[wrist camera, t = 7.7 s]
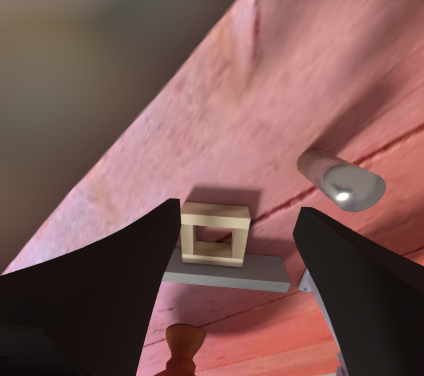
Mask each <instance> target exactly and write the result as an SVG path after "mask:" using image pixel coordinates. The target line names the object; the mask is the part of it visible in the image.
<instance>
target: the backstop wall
mask: <svg viewBox="0 0 424 376" xmlns="http://www.w3.org/2000/svg"><path fill="white" fill-rule="evenodd" d="M162 281H165V282H175V283H186V284H197V285H208V286H218V287H229V288H240V289H251V290H261V291H272V292H283V293H287V292H288V289H289V287H290V284H291V282H290V280H289V277H288V274H287V272H286V269H285V266H284V263H283V261H282V258H281V257H277V256H265V255H253V254H244V258H243V264H242V267H234V266H223V265H211V264H200V263H188V262H183V261H182V249H181V248H175V249H174V251H173V254H172V256H171V258H170V261H169V263H168V266H167V268H166V271H165V273H164V276H163V279H162Z"/></svg>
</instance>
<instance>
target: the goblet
mask: <svg viewBox="0 0 424 376" xmlns="http://www.w3.org/2000/svg"><path fill="white" fill-rule="evenodd" d="M166 339H167V343H168V345H169V348H170V351H171V355H172V357H171V358H170V360H169V361H167V363H166V370H164V371H162V372H160V373H158V374H156V375H154V376H196V375H194V374H195V368H196V365H195V364H194V362H193V360H192V359H193V357H194V355H195V354H196V352H197V351H198V350H199V349H200V347H201V346H202V344H203V342H204V339H205V335H204V333H203V332H202V331H201V330H200V329H199V328H196V327H194V326H190V325H175V326H171V327H169V328H167V329H166Z"/></svg>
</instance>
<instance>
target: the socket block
mask: <svg viewBox="0 0 424 376" xmlns="http://www.w3.org/2000/svg"><path fill="white" fill-rule="evenodd" d="M249 224H250V214H249V210H248V206H235V205H220V204H206V203H191V202H184V204H183V206H182V208H181V225H182V226H181V230H180V231H181V246H182V261H183V262H188V263H200V264H211V265H223V266H234V267H242V264H243V258H244V252H245V247H246V241H247V236H248V230H249ZM196 225H199V226H212V227H225V228H233V231H232V240H231V244H227V243H215V242H202V241H196Z"/></svg>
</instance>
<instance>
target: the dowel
mask: <svg viewBox="0 0 424 376" xmlns="http://www.w3.org/2000/svg"><path fill="white" fill-rule="evenodd" d="M297 169H298V171H299V172H300V173H301V174H302V175H304V176H305V177H306V178H307V179H308V180H309V181H310V182H311V183H313V184H314V185H315V186H316V187H317V188H318V189H319V190H320V191H322V192H323V193H324V194H325V195H326V196H327V197H328V198H330V199H331V200H332V201H333V202H334V203H335V204H336V205H337V206H339V207H340V208H341V209H342V210H344V211H348V212H358V211H363V210H366V209H368V208H370V207H372V206H373V205H375V204H376V203H377V202H378V201H379V200H380V199H381V198H382V196H383V195H384V193H385V189H386V184H385V181H384V179H383V178H382V177H380V176H379V175H376V174H374V173H372V172H370V171H368V170H365V169H363V168H361V167H359V166H357V165H354V164H352V163H350V162H348V161H345V160H343V159H341V158H339V157H337V156H334V155H332V154H330V153H328V152H326V151H323V150H321V149H318V148H313V149H309V150H307V151H305V152H304V153H303V154H302V155H301V156H300V157H299V159H298V161H297Z"/></svg>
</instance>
